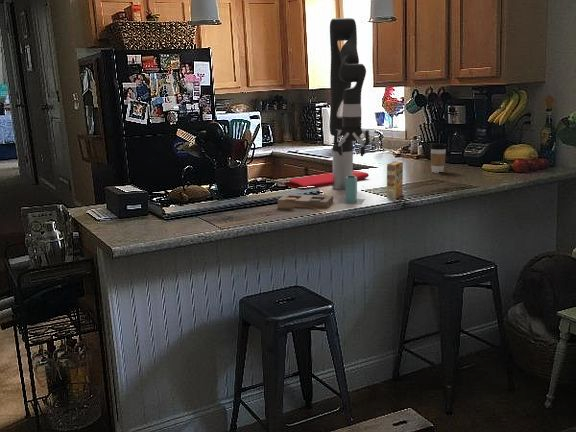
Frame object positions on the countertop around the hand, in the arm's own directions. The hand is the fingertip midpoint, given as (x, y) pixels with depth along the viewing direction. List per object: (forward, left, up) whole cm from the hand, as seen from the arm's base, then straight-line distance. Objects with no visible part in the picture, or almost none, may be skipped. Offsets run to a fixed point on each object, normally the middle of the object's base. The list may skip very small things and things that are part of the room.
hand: (351, 155), depth 257 cm
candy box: (-14, +16, -20) cm, 29 cm away
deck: (0, 0, -20) cm, 20 cm away
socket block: (+9, -17, -20) cm, 28 cm away
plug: (0, 0, -19) cm, 19 cm away
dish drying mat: (-45, -20, -21) cm, 54 cm away
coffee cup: (-84, +30, -20) cm, 91 cm away
